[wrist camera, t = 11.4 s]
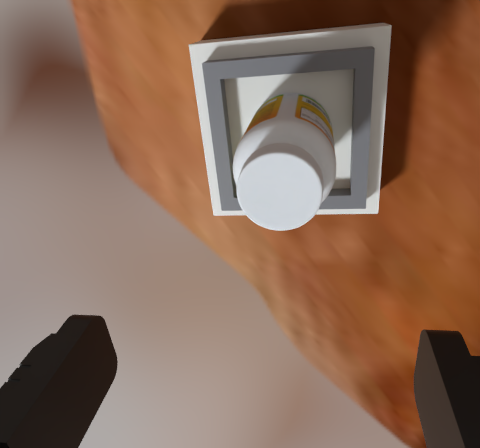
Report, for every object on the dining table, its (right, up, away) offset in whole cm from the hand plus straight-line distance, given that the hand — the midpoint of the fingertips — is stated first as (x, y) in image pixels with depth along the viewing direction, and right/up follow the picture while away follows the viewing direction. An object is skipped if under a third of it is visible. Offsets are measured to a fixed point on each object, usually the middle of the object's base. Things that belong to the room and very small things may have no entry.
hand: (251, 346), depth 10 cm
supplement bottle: (+3, +9, +17) cm, 19 cm away
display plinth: (+3, +10, +19) cm, 22 cm away
